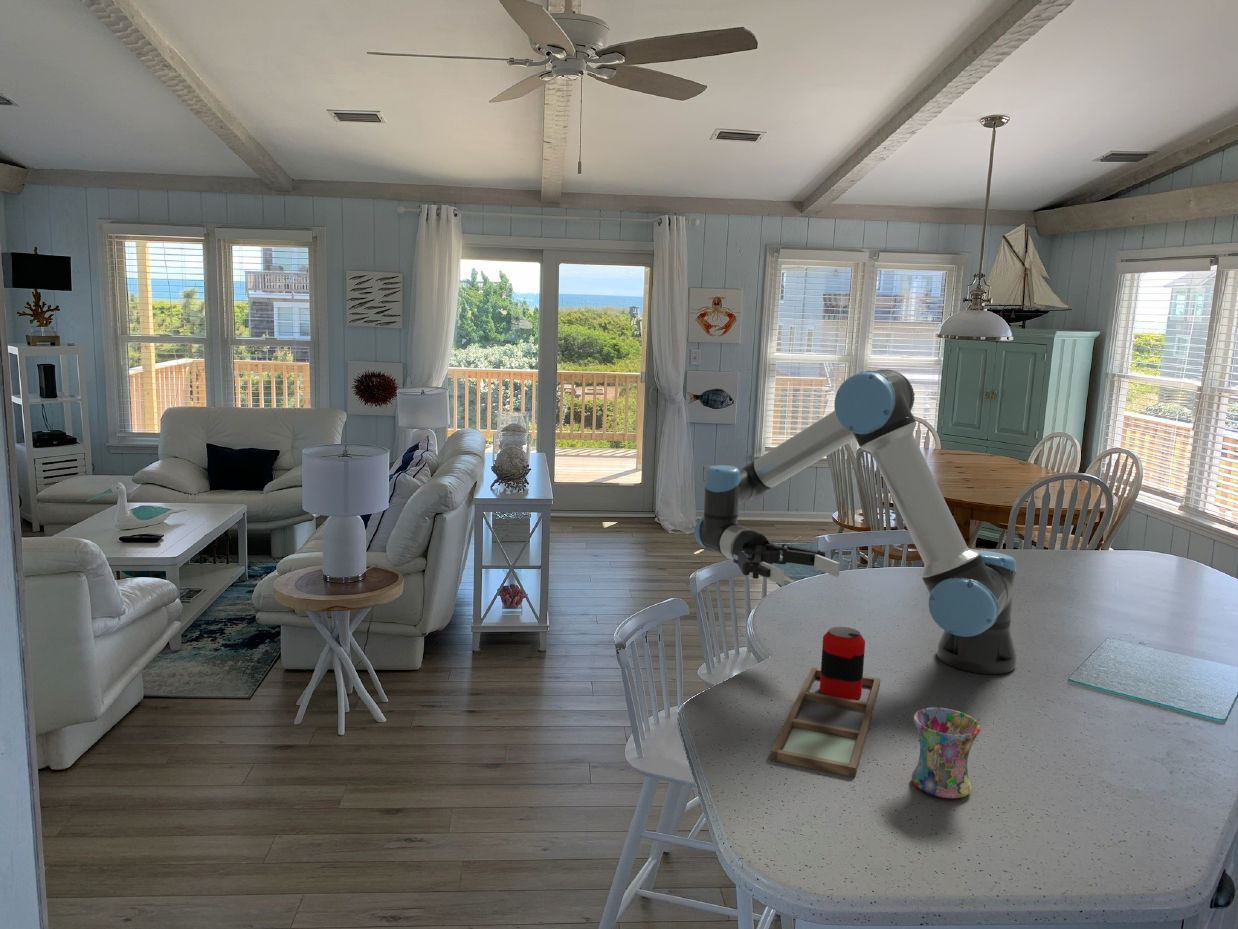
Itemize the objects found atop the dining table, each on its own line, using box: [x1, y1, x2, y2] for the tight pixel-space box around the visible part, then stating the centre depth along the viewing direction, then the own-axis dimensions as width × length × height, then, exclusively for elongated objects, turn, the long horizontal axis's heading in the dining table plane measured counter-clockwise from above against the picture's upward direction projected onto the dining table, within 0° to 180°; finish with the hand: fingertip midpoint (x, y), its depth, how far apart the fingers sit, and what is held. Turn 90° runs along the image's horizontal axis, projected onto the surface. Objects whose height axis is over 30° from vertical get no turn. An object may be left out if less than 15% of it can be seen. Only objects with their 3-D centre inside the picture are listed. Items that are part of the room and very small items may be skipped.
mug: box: [911, 707, 981, 799], centre depth 130 cm, size 12×9×11 cm
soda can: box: [819, 626, 866, 700], centre depth 163 cm, size 8×8×12 cm
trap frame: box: [770, 667, 881, 778], centre depth 153 cm, size 13×37×2 cm, turn 158°
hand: (811, 573), depth 169 cm, fingers open, 13 cm apart
